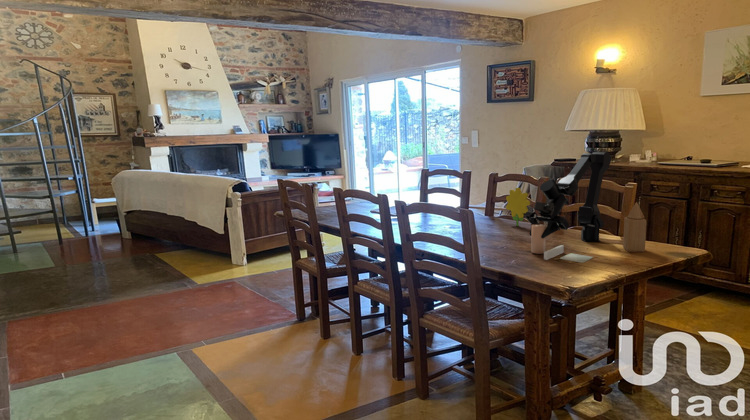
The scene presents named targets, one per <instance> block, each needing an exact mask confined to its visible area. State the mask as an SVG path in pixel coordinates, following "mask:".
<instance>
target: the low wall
mask: <svg viewBox="0 0 750 420" xmlns="http://www.w3.org/2000/svg"><path fill="white" fill-rule="evenodd" d="M564 248H565V247H564V244H563V245H562V244H560V245H557V246H555V247H553V248H551V249H548V250H545V252H544V253H543V260H545V261H549V260H550V259H552V258H555V257H557V256H559V255H561V254H564Z"/></svg>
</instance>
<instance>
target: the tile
mask: <svg viewBox="0 0 750 420" xmlns="http://www.w3.org/2000/svg"><path fill="white" fill-rule="evenodd" d="M559 259H560V260H563V261H564V260H565V261H571V262H576V263H582V264H584V263H585V262H588V261H590V260H592V259H594V256H589V255H585V254H584V255H583V254H577V253H568V254H566V255H563V256H561V257H560V258H559Z"/></svg>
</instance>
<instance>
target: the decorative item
mask: <svg viewBox="0 0 750 420" xmlns="http://www.w3.org/2000/svg"><path fill="white" fill-rule="evenodd" d="M528 195H529V194H528V192H522V189H521V188H520V187H515V189H510V190H509V195H507V196H505V199H506V201H507V204H506V205H505V209H506V210H508V211H511V217H512V220H513V221H516V222H515V223H516V226H517V227H519V221H520V222H523V220H524V217H525V216H524V215H525V213H526V212H527V211H529V209H528V206H530V205H531V201H530V200H529V199H528Z"/></svg>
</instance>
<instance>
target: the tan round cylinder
mask: <svg viewBox="0 0 750 420" xmlns="http://www.w3.org/2000/svg"><path fill="white" fill-rule="evenodd" d="M546 227H547V224H541V223H539V224H533V225H531V224H530V229H531V236H530V238H531V239H530V243H531V244H530V248H531V249H530V252H531V253H532V254H537V255H538V254H540V255H541V254H544V252H545V251H546V244H547V243H546V237H547V236H546V237H545V238H541V236H542V234H543V232H544V230H545V229H546Z"/></svg>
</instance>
